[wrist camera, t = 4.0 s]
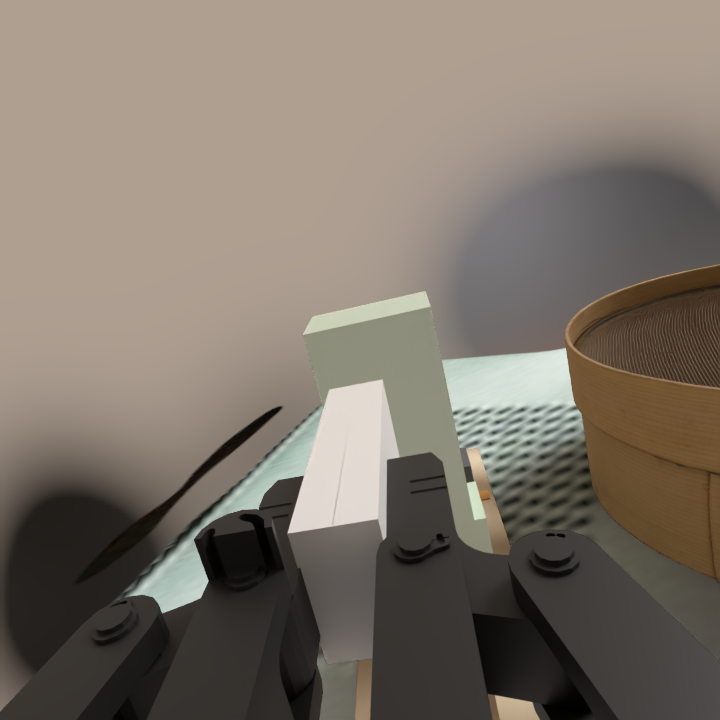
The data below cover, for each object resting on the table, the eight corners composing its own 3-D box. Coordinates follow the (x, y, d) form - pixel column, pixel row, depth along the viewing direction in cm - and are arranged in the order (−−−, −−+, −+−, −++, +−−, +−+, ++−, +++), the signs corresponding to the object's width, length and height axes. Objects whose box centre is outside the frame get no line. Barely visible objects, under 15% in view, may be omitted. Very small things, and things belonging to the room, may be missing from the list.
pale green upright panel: (508, 629, 25) (443, 303, 21) (379, 648, 26) (290, 337, 21) (495, 583, 28) (437, 288, 23) (380, 601, 29) (301, 319, 24)
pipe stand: (572, 738, 22) (550, 606, 20) (357, 765, 23) (316, 642, 21) (479, 456, 45) (464, 380, 43) (372, 476, 46) (353, 403, 44)
